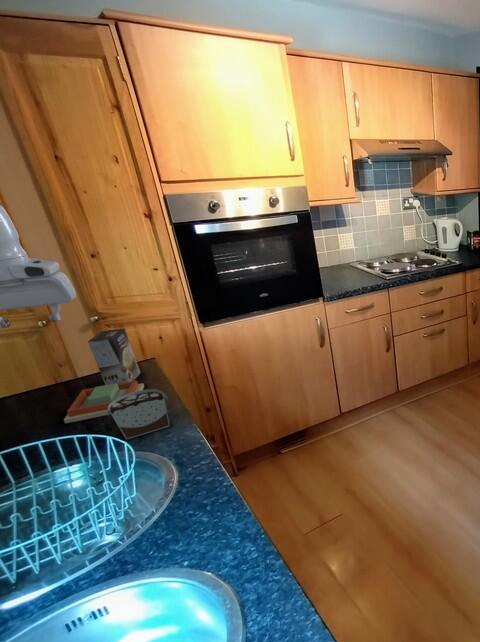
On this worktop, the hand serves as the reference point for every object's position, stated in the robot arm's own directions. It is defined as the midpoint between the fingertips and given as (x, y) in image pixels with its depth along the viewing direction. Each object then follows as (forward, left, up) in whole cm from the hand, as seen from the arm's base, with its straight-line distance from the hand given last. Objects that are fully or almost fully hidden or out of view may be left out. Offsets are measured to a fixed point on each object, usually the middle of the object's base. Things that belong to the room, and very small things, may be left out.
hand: (31, 323), depth 112 cm
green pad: (+5, +8, -28) cm, 29 cm away
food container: (+18, -12, -29) cm, 36 cm away
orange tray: (+5, +8, -29) cm, 31 cm away
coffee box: (+6, +23, -29) cm, 38 cm away
